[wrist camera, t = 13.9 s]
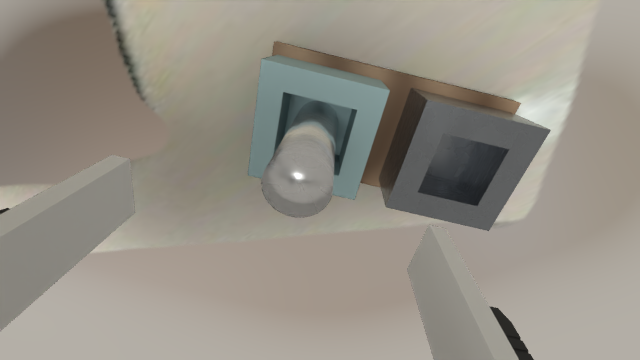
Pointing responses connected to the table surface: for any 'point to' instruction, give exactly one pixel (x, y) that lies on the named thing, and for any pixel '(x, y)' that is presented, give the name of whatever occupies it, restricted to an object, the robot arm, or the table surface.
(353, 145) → the teal square holder
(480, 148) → the socket block
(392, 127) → the tool board
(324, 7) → the table surface
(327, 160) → the translucent peg
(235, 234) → the table surface
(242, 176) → the table surface
